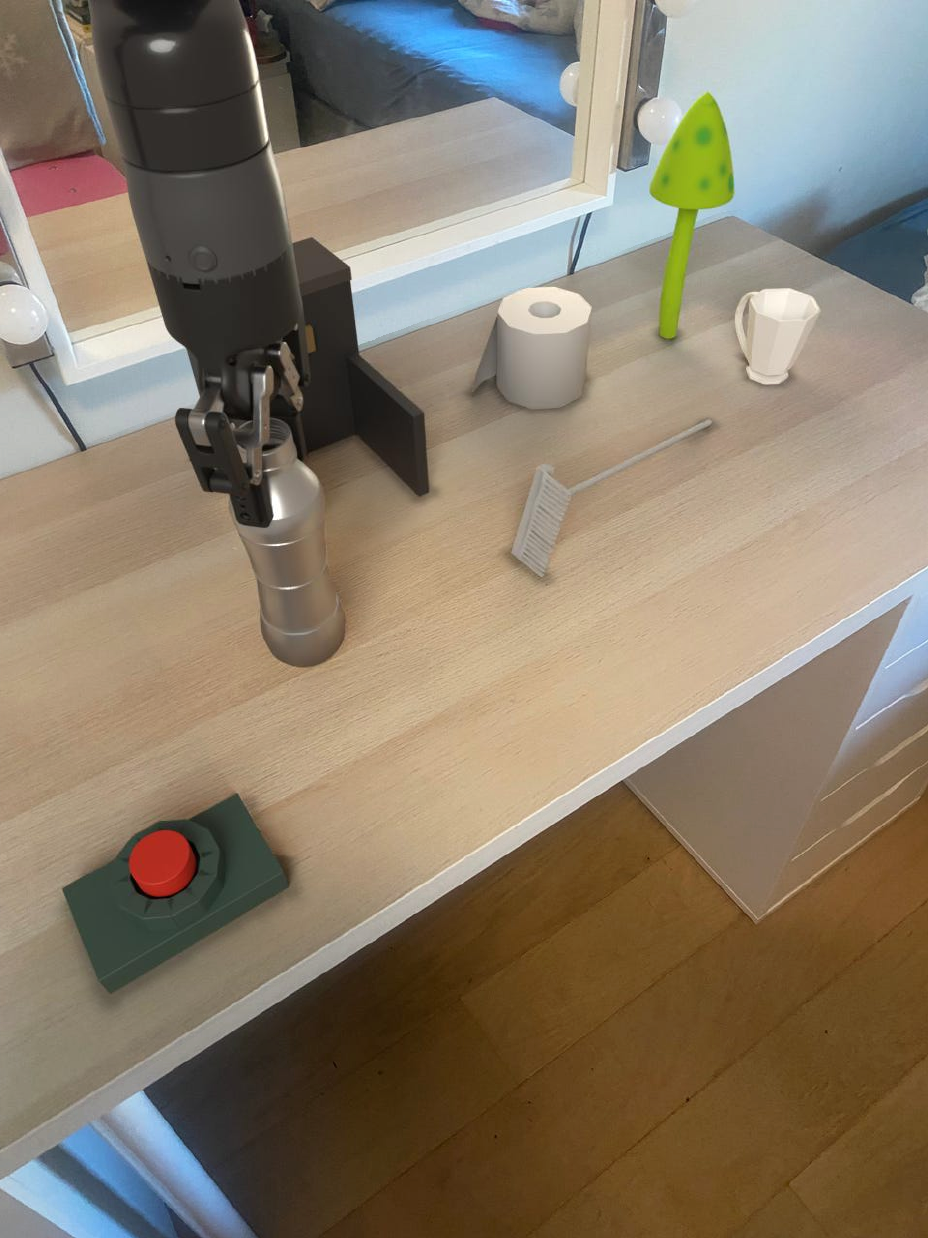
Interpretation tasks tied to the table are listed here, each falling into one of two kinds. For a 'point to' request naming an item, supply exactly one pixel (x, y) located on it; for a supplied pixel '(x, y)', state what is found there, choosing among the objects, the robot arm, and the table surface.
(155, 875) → the stop button
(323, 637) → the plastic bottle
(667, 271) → the mushroom
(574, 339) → the toilet tissue
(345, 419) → the dark box with flaps
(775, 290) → the cup
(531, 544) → the brush
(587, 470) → the table surface
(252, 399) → the robot arm
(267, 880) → the control pad
